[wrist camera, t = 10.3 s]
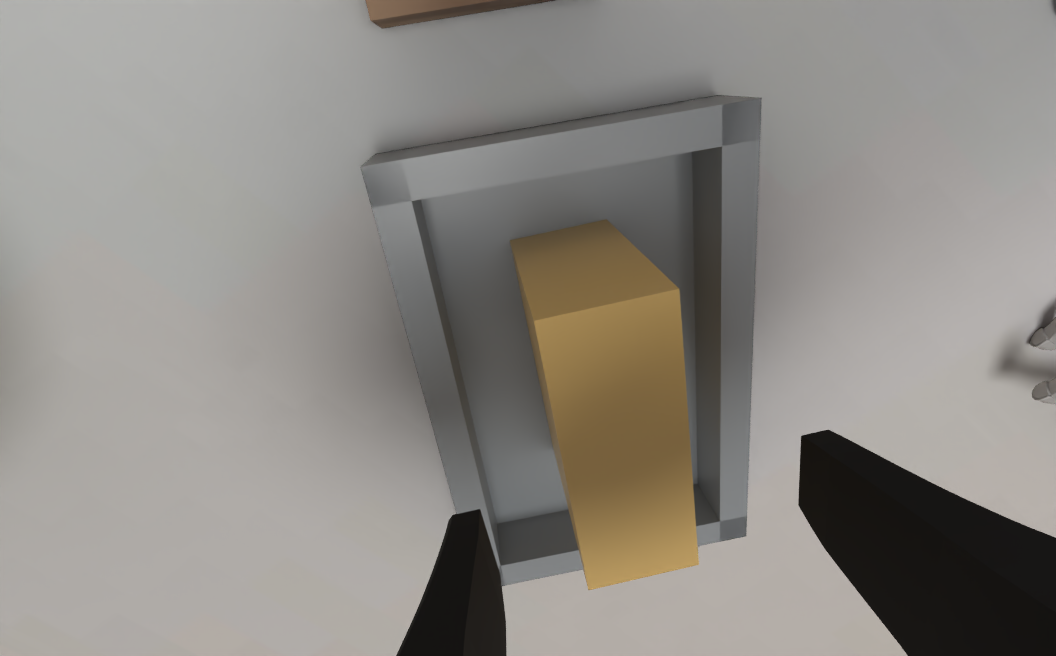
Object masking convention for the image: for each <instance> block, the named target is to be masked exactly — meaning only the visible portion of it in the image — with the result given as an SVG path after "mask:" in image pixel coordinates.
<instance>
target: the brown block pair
mask: <svg viewBox="0 0 1056 656" xmlns="http://www.w3.org/2000/svg"><path fill="white" fill-rule="evenodd" d="M548 1H554V0H366V4H367V8H368V12H369V16H370V20H371V21H372V22H373V23H375V24H376V25H378V26H379V27H381V28H388V27H394V26H400V25H407V24H413V23H419V22H425V21H431V20H437V19H443V18H450V17H456V16H462V15H468V14H474V13H480V12H487V11H493V10H499V9H505V8H511V7H517V6H523V5H530V4H536V3H542V2H548Z"/></svg>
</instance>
